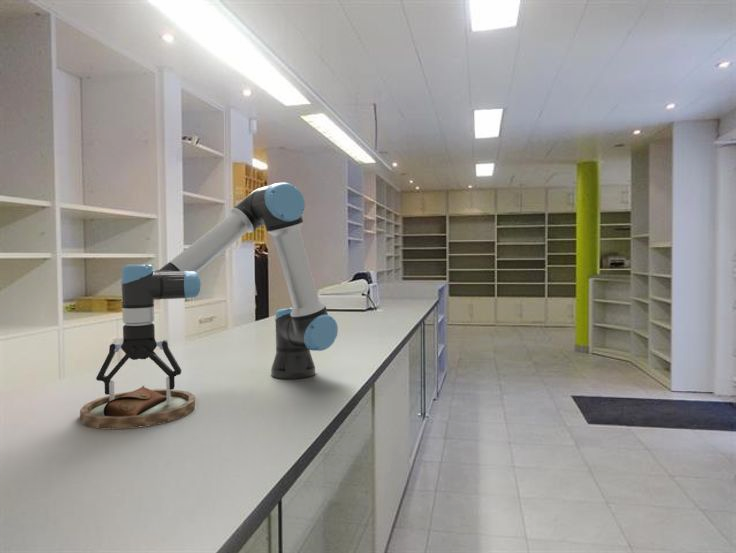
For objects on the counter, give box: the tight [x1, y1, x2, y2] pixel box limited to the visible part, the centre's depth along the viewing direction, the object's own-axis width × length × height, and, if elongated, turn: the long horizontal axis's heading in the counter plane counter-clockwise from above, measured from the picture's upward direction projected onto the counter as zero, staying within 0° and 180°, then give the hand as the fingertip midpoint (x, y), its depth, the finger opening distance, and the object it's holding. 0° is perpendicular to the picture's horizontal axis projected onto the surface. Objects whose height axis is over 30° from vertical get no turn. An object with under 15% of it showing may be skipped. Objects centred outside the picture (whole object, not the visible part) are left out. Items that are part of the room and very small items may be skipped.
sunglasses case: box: [104, 385, 167, 417], centre depth 133 cm, size 18×7×7 cm
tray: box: [79, 388, 196, 430], centre depth 133 cm, size 27×27×2 cm
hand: (140, 404), depth 133 cm, fingers open, 13 cm apart
